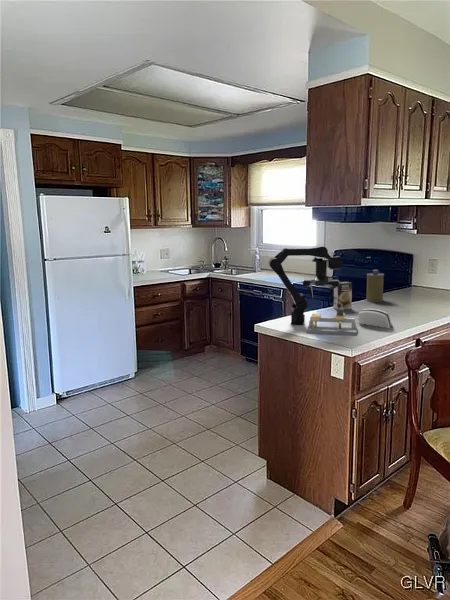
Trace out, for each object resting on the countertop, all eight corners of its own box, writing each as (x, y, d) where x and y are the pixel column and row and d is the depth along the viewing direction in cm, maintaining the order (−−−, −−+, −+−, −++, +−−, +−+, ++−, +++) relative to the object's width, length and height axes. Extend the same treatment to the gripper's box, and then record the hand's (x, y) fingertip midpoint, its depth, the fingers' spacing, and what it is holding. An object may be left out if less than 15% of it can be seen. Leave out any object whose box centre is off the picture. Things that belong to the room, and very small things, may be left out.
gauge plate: (306, 332, 225) (306, 318, 224) (309, 326, 236) (309, 312, 235) (356, 335, 218) (356, 320, 216) (356, 328, 229) (357, 314, 228)
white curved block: (393, 326, 232) (391, 309, 227) (389, 331, 229) (387, 314, 224) (362, 321, 243) (360, 305, 238) (358, 326, 240) (356, 310, 236)
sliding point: (335, 328, 224) (335, 310, 222) (336, 324, 230) (336, 307, 228) (343, 328, 223) (344, 310, 221) (344, 325, 229) (344, 307, 227)
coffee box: (337, 310, 271) (338, 283, 268) (333, 308, 277) (333, 282, 274) (351, 309, 273) (352, 282, 269) (347, 306, 279) (347, 281, 276)
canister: (383, 302, 288) (384, 271, 284) (366, 302, 290) (367, 271, 286) (382, 298, 298) (383, 268, 294) (365, 298, 301) (366, 268, 297)
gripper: (301, 272, 234) (301, 301, 237) (338, 272, 228) (338, 302, 231) (304, 269, 244) (304, 297, 247) (339, 269, 239) (339, 298, 242)
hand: (321, 298), depth 242 cm, fingers open, 9 cm apart
